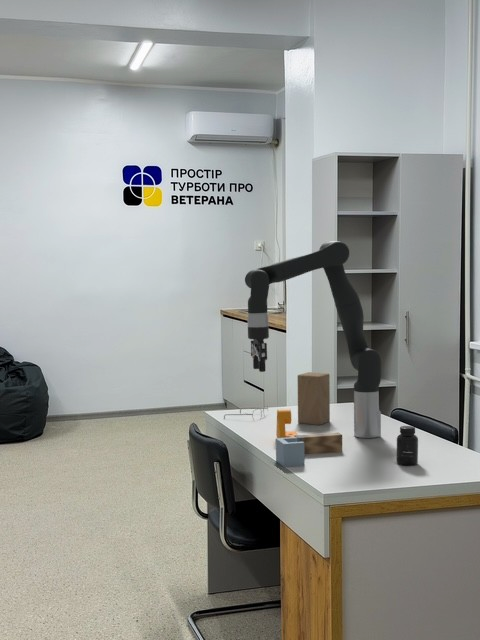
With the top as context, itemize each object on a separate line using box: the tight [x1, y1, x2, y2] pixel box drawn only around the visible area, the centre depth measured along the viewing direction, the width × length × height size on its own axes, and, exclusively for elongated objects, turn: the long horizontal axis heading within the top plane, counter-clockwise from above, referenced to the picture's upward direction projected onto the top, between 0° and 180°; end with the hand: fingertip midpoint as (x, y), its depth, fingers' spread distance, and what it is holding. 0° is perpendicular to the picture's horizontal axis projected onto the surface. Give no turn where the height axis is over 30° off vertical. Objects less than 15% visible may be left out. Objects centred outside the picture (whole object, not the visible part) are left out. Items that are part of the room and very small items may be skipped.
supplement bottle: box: [396, 425, 419, 467], centre depth 264 cm, size 7×7×12 cm
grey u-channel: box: [275, 437, 306, 468], centre depth 267 cm, size 7×9×8 cm
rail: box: [294, 432, 343, 456], centre depth 282 cm, size 16×4×6 cm, turn 104°
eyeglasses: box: [223, 404, 269, 422], centre depth 351 cm, size 16×15×5 cm
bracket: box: [276, 408, 299, 438], centre depth 300 cm, size 11×7×12 cm, turn 4°
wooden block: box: [297, 371, 331, 426], centre depth 336 cm, size 10×10×20 cm
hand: (259, 370), depth 294 cm, fingers open, 8 cm apart
